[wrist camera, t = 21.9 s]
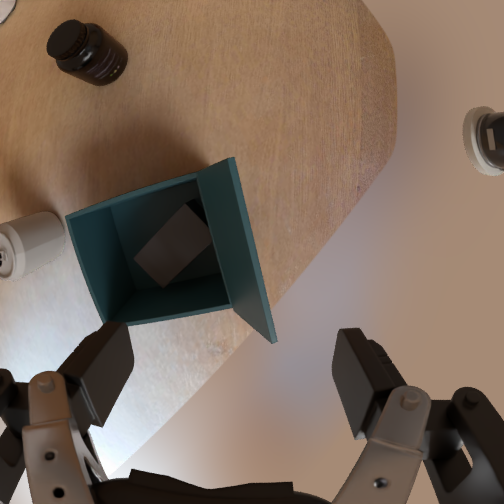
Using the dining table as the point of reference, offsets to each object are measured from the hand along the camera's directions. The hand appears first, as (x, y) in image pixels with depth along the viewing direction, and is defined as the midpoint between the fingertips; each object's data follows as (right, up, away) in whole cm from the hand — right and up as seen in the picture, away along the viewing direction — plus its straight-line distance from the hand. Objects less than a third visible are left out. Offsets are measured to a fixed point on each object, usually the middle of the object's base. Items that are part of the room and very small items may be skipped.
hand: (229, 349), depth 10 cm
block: (-11, +2, +24) cm, 26 cm away
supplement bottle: (-19, +29, +19) cm, 40 cm away
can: (-30, +6, +26) cm, 40 cm away
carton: (-10, +6, +26) cm, 28 cm away
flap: (-1, +4, +11) cm, 12 cm away
